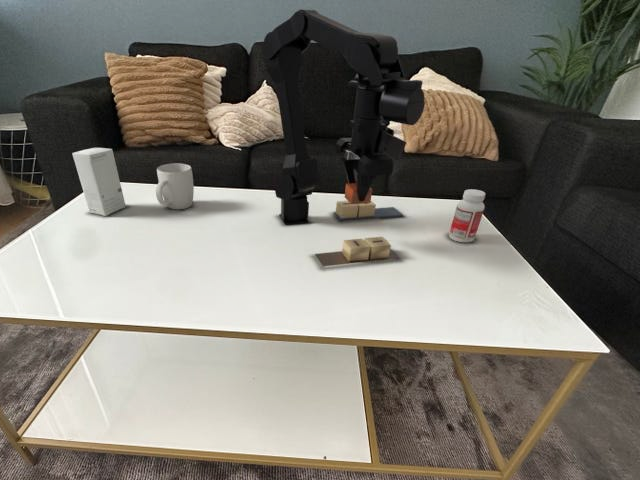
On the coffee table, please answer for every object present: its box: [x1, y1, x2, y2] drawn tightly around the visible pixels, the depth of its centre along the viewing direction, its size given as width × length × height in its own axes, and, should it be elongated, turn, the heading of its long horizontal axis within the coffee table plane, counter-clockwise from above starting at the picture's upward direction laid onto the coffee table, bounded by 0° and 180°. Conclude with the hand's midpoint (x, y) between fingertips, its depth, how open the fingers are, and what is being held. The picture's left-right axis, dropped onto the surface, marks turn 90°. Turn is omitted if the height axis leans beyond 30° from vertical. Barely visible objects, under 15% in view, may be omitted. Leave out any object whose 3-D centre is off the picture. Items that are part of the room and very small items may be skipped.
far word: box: [333, 200, 404, 222], centre depth 110 cm, size 18×6×4 cm, turn 105°
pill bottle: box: [448, 188, 486, 243], centre depth 97 cm, size 6×6×11 cm
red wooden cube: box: [344, 183, 373, 204], centre depth 89 cm, size 4×4×3 cm
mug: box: [155, 162, 195, 210], centre depth 110 cm, size 13×9×10 cm
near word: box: [314, 236, 400, 267], centre depth 90 cm, size 18×6×4 cm, turn 105°
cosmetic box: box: [72, 147, 127, 217], centre depth 106 cm, size 8×6×15 cm
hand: (357, 197), depth 90 cm, fingers closed on red wooden cube, 4 cm apart
